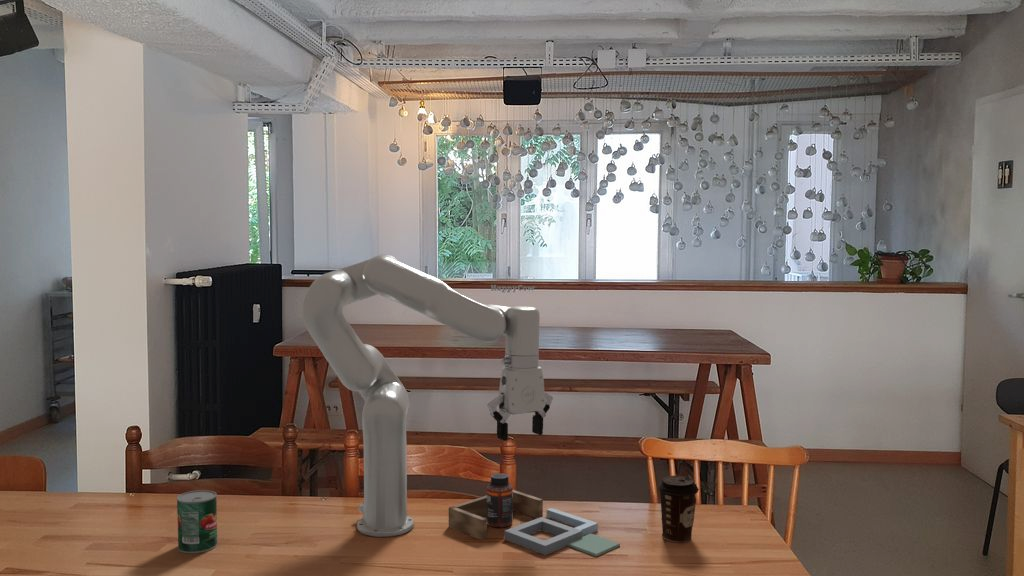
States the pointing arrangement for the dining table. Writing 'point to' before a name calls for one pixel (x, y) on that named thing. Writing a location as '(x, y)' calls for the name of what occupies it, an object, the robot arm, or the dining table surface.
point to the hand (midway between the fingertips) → (520, 436)
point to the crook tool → (573, 521)
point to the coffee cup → (677, 507)
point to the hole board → (524, 538)
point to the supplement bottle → (499, 501)
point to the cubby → (472, 513)
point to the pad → (593, 544)
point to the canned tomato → (197, 521)
